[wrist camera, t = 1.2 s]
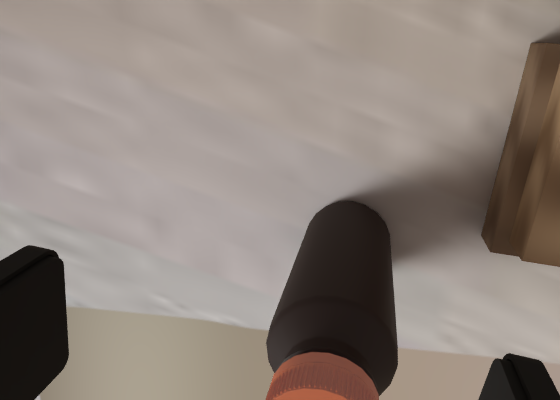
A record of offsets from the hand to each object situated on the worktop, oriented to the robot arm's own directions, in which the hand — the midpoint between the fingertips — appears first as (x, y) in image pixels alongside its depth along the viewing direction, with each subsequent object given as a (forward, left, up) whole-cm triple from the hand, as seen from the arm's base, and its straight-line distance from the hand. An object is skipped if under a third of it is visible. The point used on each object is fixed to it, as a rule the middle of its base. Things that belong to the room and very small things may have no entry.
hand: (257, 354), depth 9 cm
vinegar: (+9, +2, -26) cm, 28 cm away
